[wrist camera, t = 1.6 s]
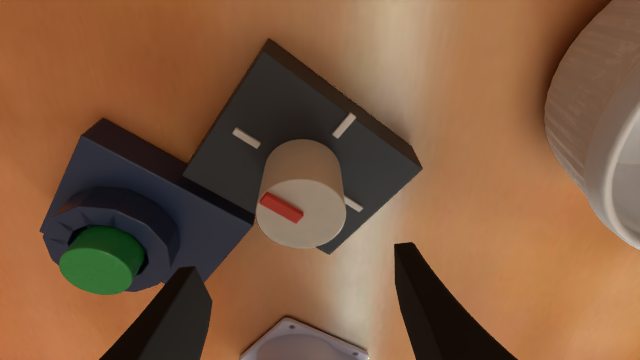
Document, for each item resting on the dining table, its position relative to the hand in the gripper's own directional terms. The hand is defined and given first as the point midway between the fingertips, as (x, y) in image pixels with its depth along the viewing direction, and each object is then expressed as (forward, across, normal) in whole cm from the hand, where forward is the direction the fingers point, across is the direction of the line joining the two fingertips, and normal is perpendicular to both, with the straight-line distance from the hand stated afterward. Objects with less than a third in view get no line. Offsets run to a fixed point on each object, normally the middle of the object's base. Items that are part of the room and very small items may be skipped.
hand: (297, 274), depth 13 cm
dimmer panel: (+9, 0, 0) cm, 9 cm away
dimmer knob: (+7, 0, 0) cm, 7 cm away
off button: (+6, +11, +3) cm, 13 cm away
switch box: (+9, +10, +3) cm, 14 cm away
